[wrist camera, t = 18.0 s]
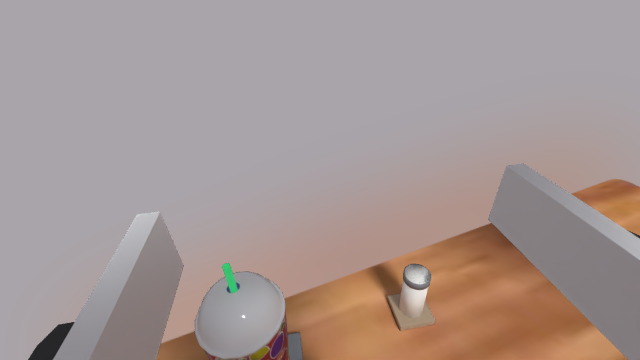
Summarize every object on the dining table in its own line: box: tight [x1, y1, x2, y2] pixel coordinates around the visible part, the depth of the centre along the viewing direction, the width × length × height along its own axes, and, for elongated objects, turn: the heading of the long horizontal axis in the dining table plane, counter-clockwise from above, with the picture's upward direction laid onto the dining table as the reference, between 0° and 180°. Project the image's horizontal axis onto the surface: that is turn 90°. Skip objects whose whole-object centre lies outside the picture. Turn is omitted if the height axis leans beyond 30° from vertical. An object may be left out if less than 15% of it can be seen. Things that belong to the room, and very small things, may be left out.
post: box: [387, 264, 436, 331], centre depth 40 cm, size 5×5×8 cm
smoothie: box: [195, 263, 290, 360], centre depth 30 cm, size 8×8×20 cm
